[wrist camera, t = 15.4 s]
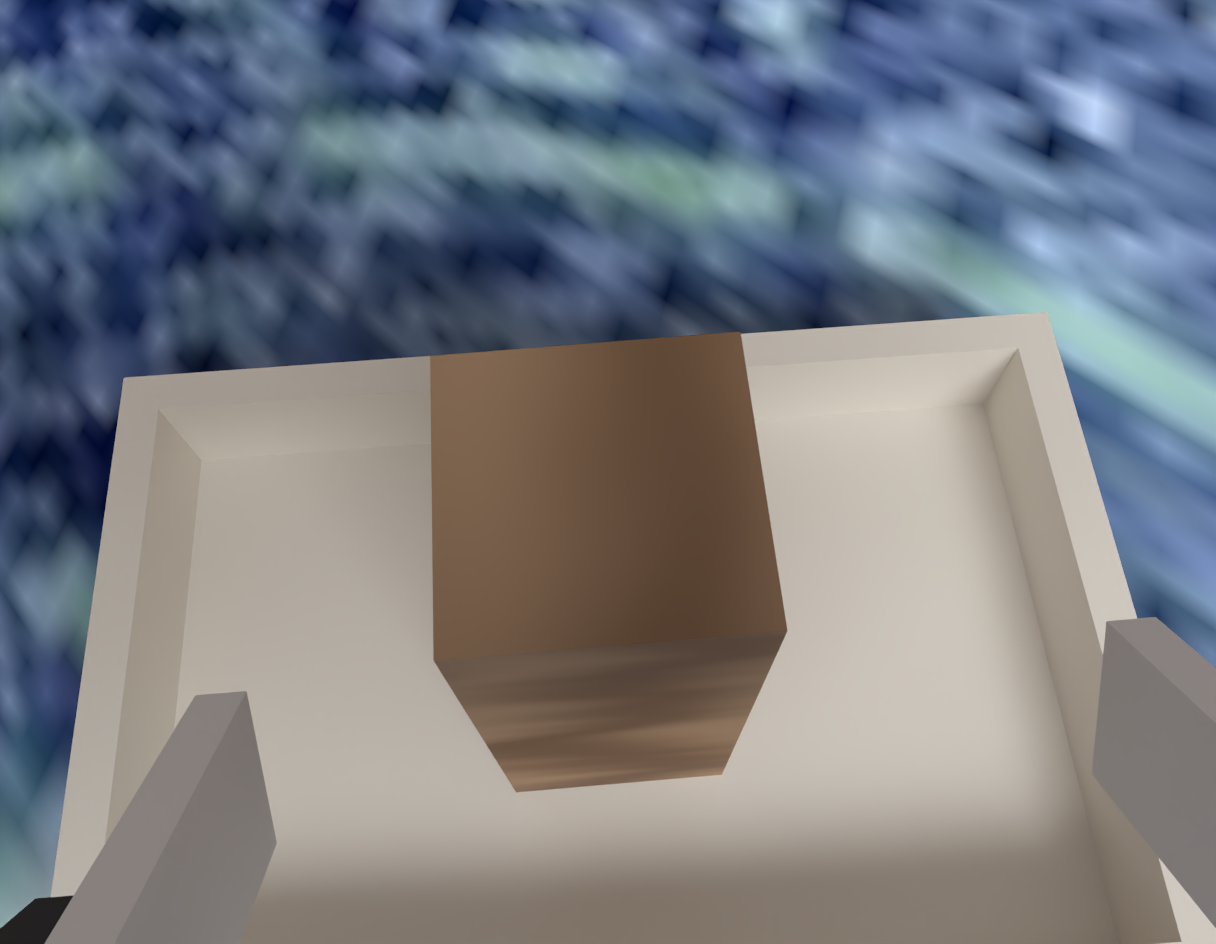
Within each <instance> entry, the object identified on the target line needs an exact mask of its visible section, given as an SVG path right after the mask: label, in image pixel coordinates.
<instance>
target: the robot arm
mask: <svg viewBox="0 0 1216 944" xmlns="http://www.w3.org/2000/svg"><path fill="white" fill-rule="evenodd" d="M1092 775H1093V776H1094V778H1095V779H1096V780H1097V781H1098V783H1099V784H1100V785H1101V786H1102V788H1103V789H1104V790H1105V791H1106V793H1107V794H1108V795H1109V796H1110V798H1111V799H1112V800H1113V801H1114V803H1115V804H1116V805H1117V806H1118V808H1119V809H1120V810H1121V811H1122V813H1123V814H1124V815H1125V816H1126V818H1127V819H1128V820H1129V821H1130V822H1131V824H1132V825H1133V826H1134V827H1135V829H1136V830H1137V831H1138V832H1139V834H1140V835H1141V836H1142V837H1143V839H1144V840H1145V841H1146V842H1147V844H1148V845H1149V846H1150V847H1151V849H1152V850H1153V851H1154V852H1155V854H1156V855H1157V856H1158V857H1159V859H1160V860H1161V861H1162V862H1163V863H1164V865H1165V866H1166V867H1167V868H1168V870H1169V871H1170V872H1171V873H1172V875H1173V876H1174V877H1175V878H1176V880H1177V881H1178V882H1179V883H1180V885H1181V886H1182V887H1183V888H1184V890H1185V891H1186V892H1187V893H1188V895H1189V896H1190V897H1191V898H1192V900H1193V901H1194V902H1195V903H1196V904H1197V906H1198V907H1199V908H1200V909H1201V911H1202V912H1203V913H1204V914H1205V916H1206V917H1207V918H1208V919H1209V921H1210V922H1211V923H1212V924H1213V926H1214V927H1215V928H1216V668H1215V667H1214V666H1213V665H1211V664H1210V663H1209V662H1208V661H1207V660H1205V659H1204V658H1203V657H1202V656H1201V655H1200V654H1198V653H1197V652H1196V651H1195V650H1194V649H1193V648H1191V647H1190V646H1189V645H1188V644H1187V643H1185V642H1184V641H1183V640H1182V639H1181V638H1180V637H1178V636H1177V635H1176V634H1175V633H1174V632H1173V631H1171V630H1170V629H1169V628H1168V627H1167V626H1165V625H1164V624H1163V623H1162V622H1161V621H1160V620H1158V619H1157V618H1156V617H1151V618H1139V619H1127V620H1114V621H1106V631H1105V641H1104V652H1103V662H1102V672H1101V682H1100V692H1099V703H1098V713H1097V723H1096V733H1095V743H1094V754H1093V764H1092ZM276 844H277V841H276V836H275V831H274V826H273V821H272V816H271V811H270V806H269V801H268V796H267V791H266V786H265V781H264V776H263V771H262V766H261V761H260V756H259V751H258V746H257V741H256V736H255V731H254V726H253V721H252V716H251V711H250V706H249V701H248V696H247V691H241V692H228V693H216V694H204V695H195V697H194V698H193V700H192V702H191V703H190V705H189V706H188V708H187V710H186V711H185V713H184V715H183V716H182V718H181V720H180V721H179V723H178V725H177V726H176V728H175V730H174V731H173V733H172V734H171V736H170V738H169V739H168V741H167V743H166V744H165V746H164V748H163V749H162V751H161V753H160V754H159V756H158V757H157V759H156V761H155V762H154V764H153V766H152V767H151V769H150V771H149V772H148V774H147V776H146V777H145V779H144V781H143V782H142V784H141V785H140V787H139V789H138V790H137V792H136V794H135V795H134V797H133V799H132V800H131V802H130V804H129V805H128V807H127V809H126V810H125V812H124V813H123V815H122V817H121V818H120V820H119V822H118V823H117V825H116V827H115V828H114V830H113V832H112V833H111V835H110V837H109V838H108V840H107V841H106V843H105V845H104V846H103V848H102V850H101V851H100V853H99V855H98V856H97V858H96V860H95V861H94V863H93V865H92V866H91V868H90V869H89V871H88V873H87V874H86V876H85V878H84V879H83V881H82V883H81V884H80V886H79V888H78V889H77V891H76V892H75V894H74V895H73V896H61V897H49V898H38V899H35V900H33V901H32V902H31V903H30V904H29V905H28V906H26V907H25V908H24V909H23V910H22V911H20V912H19V913H18V914H17V915H16V916H15V917H13V918H12V919H11V920H10V921H9V922H8V923H6V924H5V925H4V926H3V927H2V928H1V929H0V944H239V943H240V940H241V938H242V935H243V932H244V930H245V927H246V924H247V922H248V919H249V916H250V914H251V911H252V908H253V906H254V903H255V900H256V898H257V895H258V892H259V890H260V887H261V884H262V882H263V879H264V876H265V874H266V871H267V868H268V866H269V863H270V860H271V858H272V855H273V852H274V850H275V847H276Z"/></svg>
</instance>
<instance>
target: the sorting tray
mask: <svg viewBox="0 0 1216 944" xmlns="http://www.w3.org/2000/svg"><path fill="white" fill-rule="evenodd" d="M741 338H742V344H743V351H744V357H745V364H746V370H747V376H748V383H749V389H750V395H751V402H752V408H753V414H754V421H755V427H756V434H757V440H758V446H759V453H760V459H761V465H762V472H763V478H764V485H765V491H766V497H767V504H768V510H769V516H770V523H771V529H772V535H773V542H774V548H775V555H776V561H777V567H778V574H779V580H780V586H781V593H782V599H783V605H784V612H785V618H786V625H787V633H786V635H785V638H784V640H783V642H782V644H781V646H780V649H779V651H778V653H777V655H776V657H775V659H774V662H773V664H772V666H771V668H770V670H769V673H768V675H767V677H766V679H765V681H764V684H763V686H762V688H761V690H760V692H759V694H758V697H757V699H756V701H755V703H754V705H753V708H752V710H751V712H750V714H749V716H748V719H747V721H746V723H745V725H744V727H743V729H742V732H741V734H740V736H739V738H738V740H737V743H736V745H735V747H734V749H733V751H732V754H731V756H730V758H729V760H728V762H727V764H726V767H725V769H724V771H723V773H722V775H713V776H701V777H690V778H678V779H666V780H655V781H643V782H631V783H620V784H608V785H596V786H585V787H573V788H561V789H550V790H538V791H526V792H516V791H515V790H514V788H513V786H512V785H511V783H510V782H509V780H508V778H507V777H506V775H505V774H504V772H503V770H502V769H501V767H500V766H499V764H498V763H497V761H496V759H495V758H494V756H493V755H492V753H491V751H490V750H489V748H488V747H487V745H486V743H485V742H484V740H483V739H482V737H481V735H480V734H479V732H478V731H477V729H476V727H475V726H474V724H473V723H472V721H471V720H470V718H469V716H468V715H467V713H466V712H465V710H464V708H463V707H462V705H461V704H460V702H459V700H458V699H457V697H456V696H455V694H454V692H453V691H452V689H451V688H450V686H449V684H448V683H447V681H446V680H445V678H444V677H443V675H442V673H441V672H440V670H439V669H438V667H437V665H436V664H435V662H434V661H433V569H432V476H431V383H430V356H422V357H408V358H394V359H380V360H366V361H352V362H338V363H323V364H309V365H295V366H281V367H267V368H253V369H239V370H225V371H211V372H197V373H182V374H168V375H154V376H140V377H126V378H124V380H123V387H122V394H121V401H120V408H119V415H118V422H117V429H116V437H115V444H114V451H113V458H112V465H111V472H110V479H109V486H108V493H107V500H106V507H105V514H104V522H103V529H102V536H101V543H100V550H99V557H98V564H97V571H96V578H95V585H94V592H93V600H92V607H91V614H90V621H89V628H88V635H87V642H86V649H85V656H84V663H83V670H82V677H81V685H80V692H79V699H78V706H77V713H76V720H75V727H74V734H73V741H72V748H71V755H70V762H69V770H68V777H67V784H66V791H65V798H64V805H63V812H62V819H61V826H60V833H59V840H58V848H57V855H56V862H55V869H54V876H53V883H52V890H51V897H61V896H73V895H74V894H75V892H76V891H77V889H78V888H79V886H80V884H81V883H82V881H83V879H84V878H85V876H86V874H87V873H88V871H89V869H90V868H91V866H92V865H93V863H94V861H95V860H96V858H97V856H98V855H99V853H100V851H101V850H102V848H103V846H104V845H105V843H106V841H107V840H108V838H109V837H110V835H111V833H112V832H113V830H114V828H115V827H116V825H117V823H118V822H119V820H120V818H121V817H122V815H123V813H124V812H125V810H126V809H127V807H128V805H129V804H130V802H131V800H132V799H133V797H134V795H135V794H136V792H137V790H138V789H139V787H140V785H141V784H142V782H143V781H144V779H145V777H146V776H147V774H148V772H149V771H150V769H151V767H152V766H153V764H154V762H155V761H156V759H157V757H158V756H159V754H160V753H161V751H162V749H163V748H164V746H165V744H166V743H167V741H168V739H169V738H170V736H171V734H172V733H173V731H174V730H175V728H176V726H177V725H178V723H179V721H180V720H181V718H182V716H183V715H184V713H185V711H186V710H187V708H188V706H189V705H190V703H191V702H192V700H193V698H194V697H195V695H204V694H216V693H228V692H241V691H247V696H248V701H249V706H250V711H251V716H252V721H253V726H254V731H255V736H256V741H257V746H258V751H259V756H260V761H261V766H262V771H263V776H264V781H265V786H266V791H267V796H268V801H269V806H270V811H271V816H272V821H273V826H274V831H275V836H276V841H277V844H276V847H275V850H274V852H273V855H272V858H271V860H270V863H269V866H268V868H267V871H266V874H265V876H264V879H263V882H262V884H261V887H260V890H259V892H258V895H257V898H256V900H255V903H254V906H253V908H252V911H251V914H250V916H249V919H248V922H247V924H246V927H245V930H244V932H243V935H242V938H241V940H240V943H239V944H1216V928H1215V927H1214V926H1213V924H1212V923H1211V922H1210V921H1209V919H1208V918H1207V917H1206V916H1205V914H1204V913H1203V912H1202V911H1201V909H1200V908H1199V907H1198V906H1197V904H1196V903H1195V902H1194V901H1193V900H1192V898H1191V897H1190V896H1189V895H1188V893H1187V892H1186V891H1185V890H1184V888H1183V887H1182V886H1181V885H1180V883H1179V882H1178V881H1177V880H1176V878H1175V877H1174V876H1173V875H1172V873H1171V872H1170V871H1169V870H1168V868H1167V867H1166V866H1165V865H1164V863H1163V862H1162V861H1161V860H1160V859H1159V857H1158V856H1157V855H1156V854H1155V852H1154V851H1153V850H1152V849H1151V847H1150V846H1149V845H1148V844H1147V842H1146V841H1145V840H1144V839H1143V837H1142V836H1141V835H1140V834H1139V832H1138V831H1137V830H1136V829H1135V827H1134V826H1133V825H1132V824H1131V822H1130V821H1129V820H1128V819H1127V818H1126V816H1125V815H1124V814H1123V813H1122V811H1121V810H1120V809H1119V808H1118V806H1117V805H1116V804H1115V803H1114V801H1113V800H1112V799H1111V798H1110V796H1109V795H1108V794H1107V793H1106V791H1105V790H1104V789H1103V788H1102V786H1101V785H1100V784H1099V783H1098V781H1097V780H1096V779H1095V778H1094V776H1093V775H1092V764H1093V754H1094V743H1095V733H1096V723H1097V713H1098V703H1099V692H1100V682H1101V672H1102V662H1103V652H1104V641H1105V631H1106V621H1114V620H1127V619H1137V616H1136V613H1135V609H1134V606H1133V603H1132V599H1131V596H1130V592H1129V589H1128V586H1127V582H1126V579H1125V575H1124V572H1123V569H1122V565H1121V562H1120V558H1119V555H1118V551H1117V548H1116V545H1115V541H1114V538H1113V534H1112V531H1111V528H1110V524H1109V521H1108V517H1107V514H1106V511H1105V507H1104V504H1103V500H1102V497H1101V494H1100V490H1099V487H1098V483H1097V480H1096V476H1095V473H1094V470H1093V466H1092V463H1091V459H1090V456H1089V453H1088V449H1087V446H1086V442H1085V439H1084V436H1083V432H1082V429H1081V425H1080V422H1079V419H1078V415H1077V412H1076V408H1075V405H1074V402H1073V398H1072V395H1071V391H1070V388H1069V384H1068V381H1067V378H1066V374H1065V371H1064V367H1063V364H1062V361H1061V357H1060V354H1059V350H1058V347H1057V344H1056V340H1055V337H1054V333H1053V330H1052V327H1051V323H1050V320H1049V316H1048V313H1047V312H1042V313H1028V314H1014V315H1000V316H986V317H972V318H958V319H944V320H930V321H916V322H901V323H887V324H873V325H859V326H845V327H831V328H817V329H803V330H789V331H775V332H760V333H746V334H741Z"/></svg>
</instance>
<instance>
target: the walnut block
mask: <svg viewBox="0 0 1216 944" xmlns="http://www.w3.org/2000/svg"><path fill="white" fill-rule="evenodd" d="M430 383H431V476H432V569H433V661H434V662H435V664H436V665H437V667H438V669H439V670H440V672H441V673H442V675H443V677H444V678H445V680H446V681H447V683H448V684H449V686H450V688H451V689H452V691H453V692H454V694H455V696H456V697H457V699H458V700H459V702H460V704H461V705H462V707H463V708H464V710H465V712H466V713H467V715H468V716H469V718H470V720H471V721H472V723H473V724H474V726H475V727H476V729H477V731H478V732H479V734H480V735H481V737H482V739H483V740H484V742H485V743H486V745H487V747H488V748H489V750H490V751H491V753H492V755H493V756H494V758H495V759H496V761H497V763H498V764H499V766H500V767H501V769H502V770H503V772H504V774H505V775H506V777H507V778H508V780H509V782H510V783H511V785H512V786H513V788H514V790H515V791H516V792H526V791H538V790H550V789H561V788H573V787H585V786H596V785H608V784H620V783H631V782H643V781H655V780H666V779H678V778H690V777H701V776H713V775H722V773H723V771H724V769H725V767H726V764H727V762H728V760H729V758H730V756H731V754H732V751H733V749H734V747H735V745H736V743H737V740H738V738H739V736H740V734H741V732H742V729H743V727H744V725H745V723H746V721H747V719H748V716H749V714H750V712H751V710H752V708H753V705H754V703H755V701H756V699H757V697H758V694H759V692H760V690H761V688H762V686H763V684H764V681H765V679H766V677H767V675H768V673H769V670H770V668H771V666H772V664H773V662H774V659H775V657H776V655H777V653H778V651H779V649H780V646H781V644H782V642H783V640H784V638H785V635H786V633H787V625H786V618H785V612H784V605H783V599H782V593H781V586H780V580H779V574H778V567H777V561H776V555H775V548H774V542H773V535H772V529H771V523H770V516H769V510H768V504H767V497H766V491H765V485H764V478H763V472H762V465H761V459H760V453H759V446H758V440H757V434H756V427H755V421H754V414H753V408H752V402H751V395H750V389H749V383H748V376H747V370H746V364H745V357H744V351H743V344H742V338H741V332H728V333H715V334H703V335H690V336H677V337H664V338H652V339H639V340H626V341H614V342H601V343H588V344H576V345H563V346H550V347H537V348H525V349H512V350H499V351H487V352H474V353H461V354H449V355H436V356H430Z"/></svg>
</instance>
